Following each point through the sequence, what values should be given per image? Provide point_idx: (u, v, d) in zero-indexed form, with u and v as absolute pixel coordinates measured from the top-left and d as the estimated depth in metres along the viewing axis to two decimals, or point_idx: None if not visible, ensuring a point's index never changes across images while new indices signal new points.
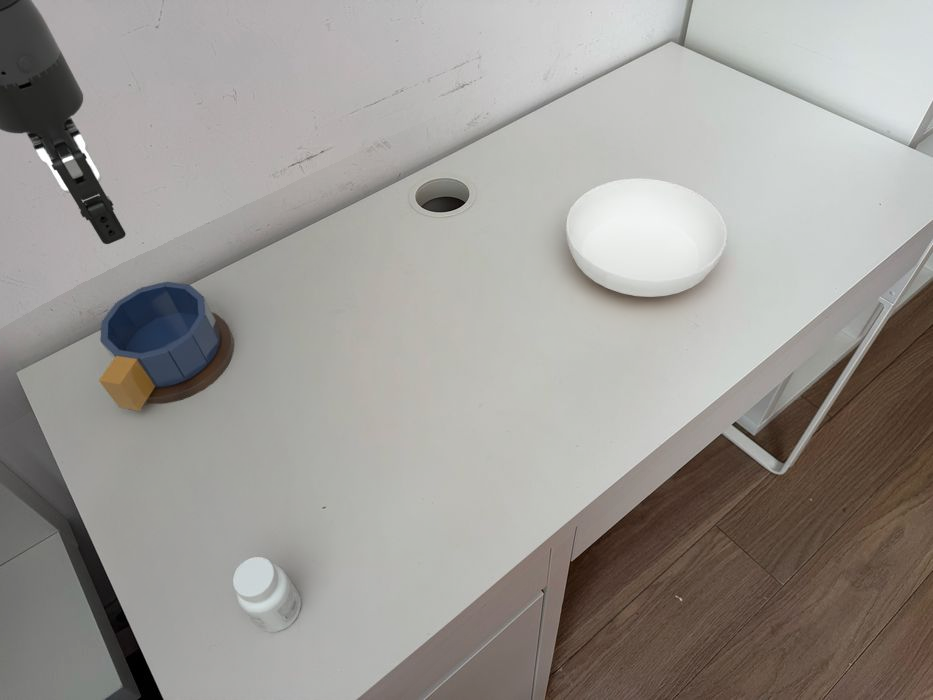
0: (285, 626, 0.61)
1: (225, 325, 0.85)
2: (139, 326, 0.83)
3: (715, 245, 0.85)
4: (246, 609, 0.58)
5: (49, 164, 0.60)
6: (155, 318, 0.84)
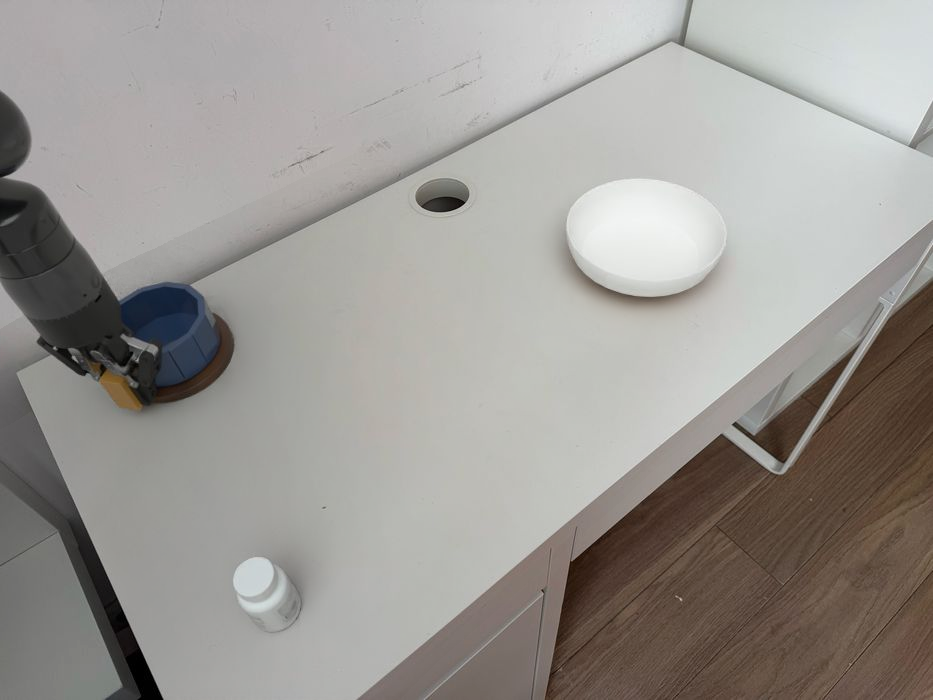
0: (285, 626, 0.61)
1: (225, 325, 0.85)
2: (139, 326, 0.83)
3: (715, 245, 0.85)
4: (246, 609, 0.58)
5: (111, 361, 0.69)
6: (155, 318, 0.84)
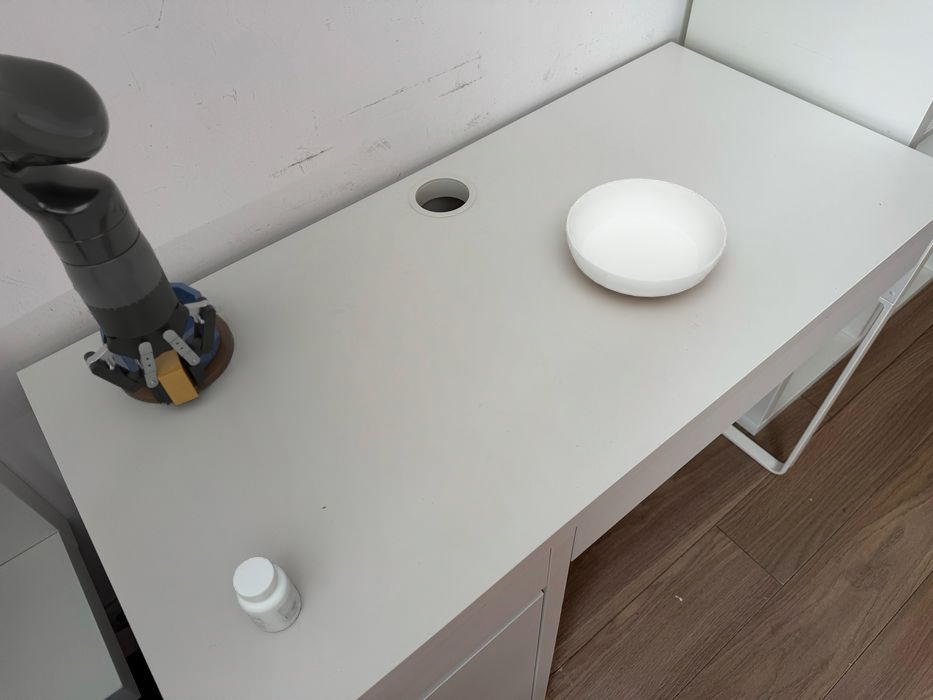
0: (285, 626, 0.61)
1: (225, 325, 0.85)
2: None
3: (715, 245, 0.85)
4: (246, 609, 0.58)
5: (179, 337, 0.71)
6: None
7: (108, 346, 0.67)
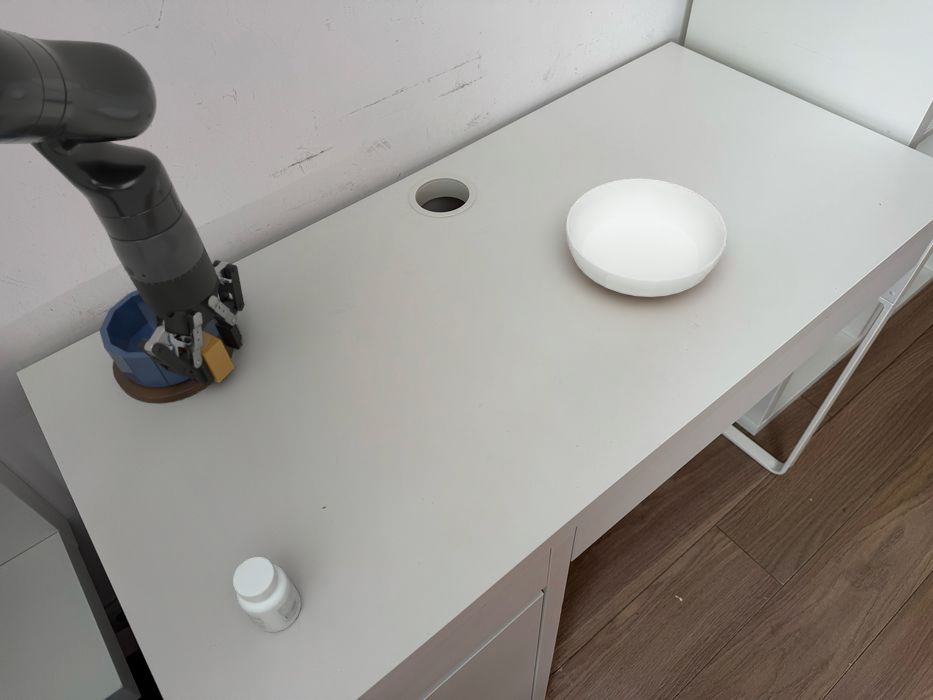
0: (285, 626, 0.61)
1: None
2: None
3: (715, 245, 0.85)
4: (246, 609, 0.58)
5: (218, 300, 0.74)
6: None
7: (166, 326, 0.69)
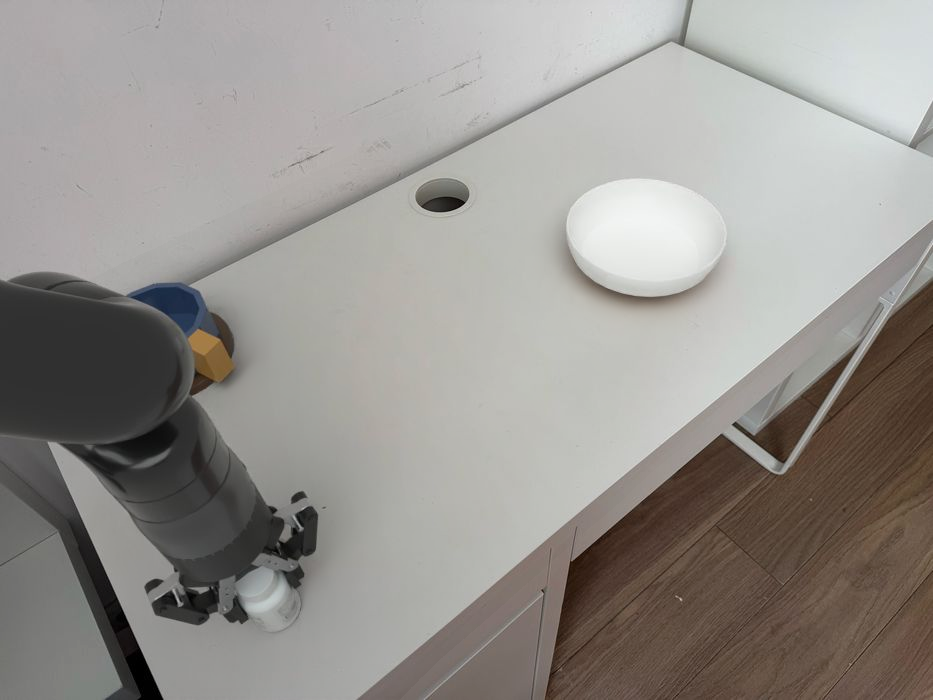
0: (285, 626, 0.61)
1: (225, 325, 0.85)
2: None
3: (715, 245, 0.85)
4: (246, 609, 0.58)
5: (272, 554, 0.54)
6: None
7: (180, 581, 0.50)
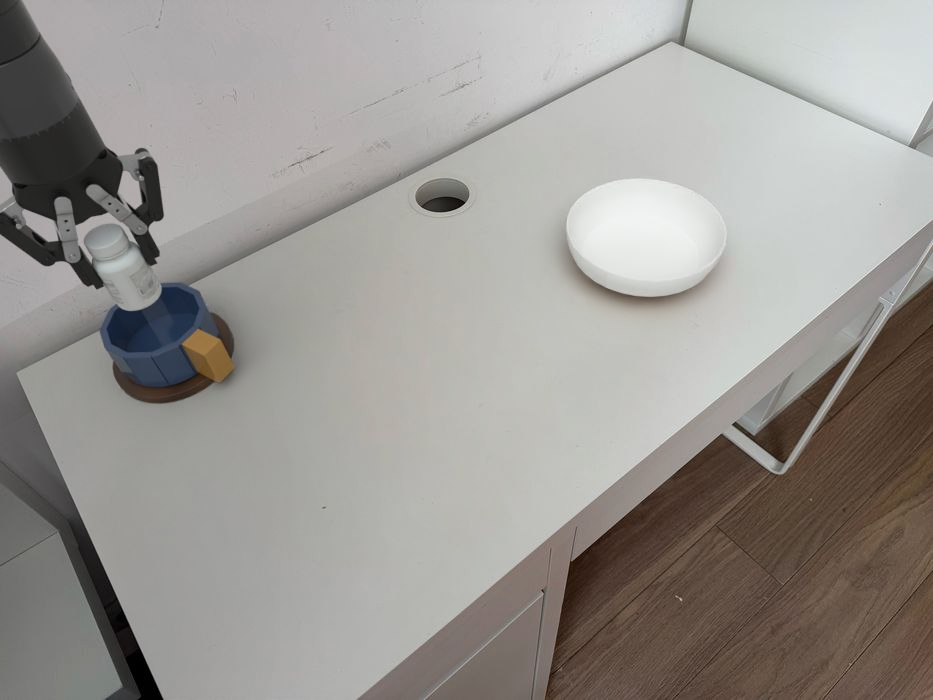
0: (143, 304, 0.65)
1: (225, 325, 0.85)
2: None
3: (715, 245, 0.85)
4: (98, 270, 0.62)
5: (111, 195, 0.58)
6: None
7: (16, 198, 0.54)
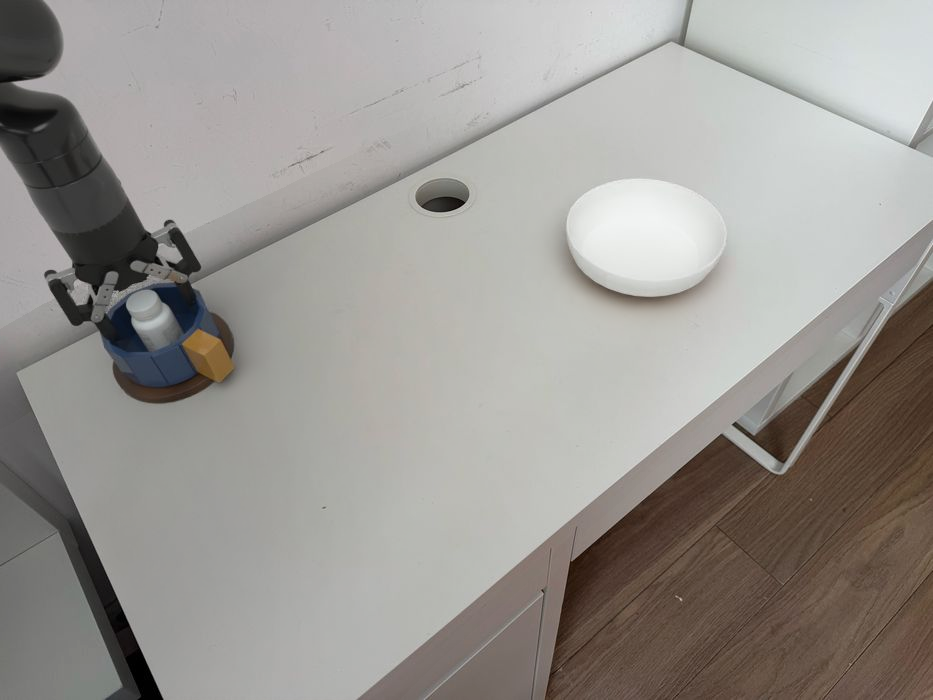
0: None
1: (225, 325, 0.85)
2: None
3: (715, 245, 0.85)
4: (137, 328, 0.76)
5: (150, 263, 0.72)
6: None
7: (76, 273, 0.69)
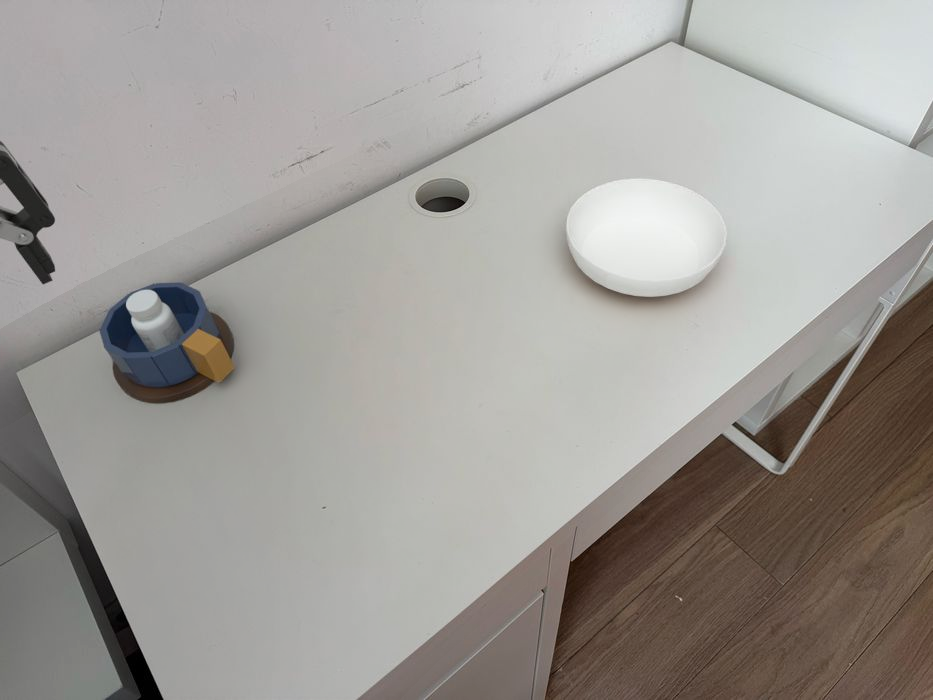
0: None
1: (225, 325, 0.85)
2: None
3: (715, 245, 0.85)
4: (137, 328, 0.76)
5: None
6: None
7: None
